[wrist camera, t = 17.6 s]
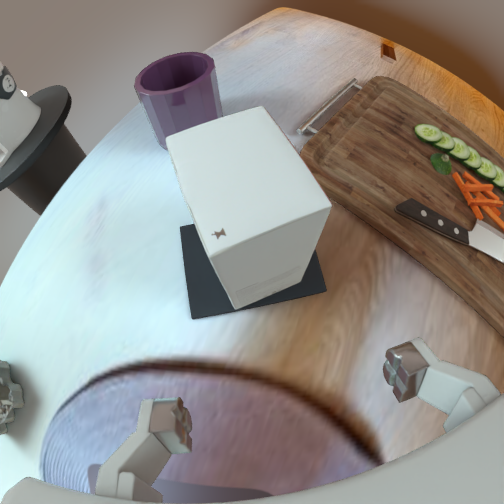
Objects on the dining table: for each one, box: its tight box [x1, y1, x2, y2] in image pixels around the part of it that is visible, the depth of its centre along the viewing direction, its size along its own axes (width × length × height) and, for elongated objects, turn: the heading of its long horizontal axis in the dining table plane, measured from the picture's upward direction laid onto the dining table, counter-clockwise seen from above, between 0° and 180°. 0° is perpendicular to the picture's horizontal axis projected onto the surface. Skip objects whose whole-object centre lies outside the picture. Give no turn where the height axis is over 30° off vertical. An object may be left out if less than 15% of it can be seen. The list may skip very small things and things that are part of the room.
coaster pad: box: [180, 224, 327, 319], centre depth 26 cm, size 12×9×1 cm
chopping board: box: [297, 76, 504, 337], centre depth 27 cm, size 45×27×3 cm, turn 51°
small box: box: [166, 106, 332, 310], centre depth 20 cm, size 8×6×13 cm
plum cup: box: [134, 52, 223, 150], centre depth 28 cm, size 9×9×9 cm
